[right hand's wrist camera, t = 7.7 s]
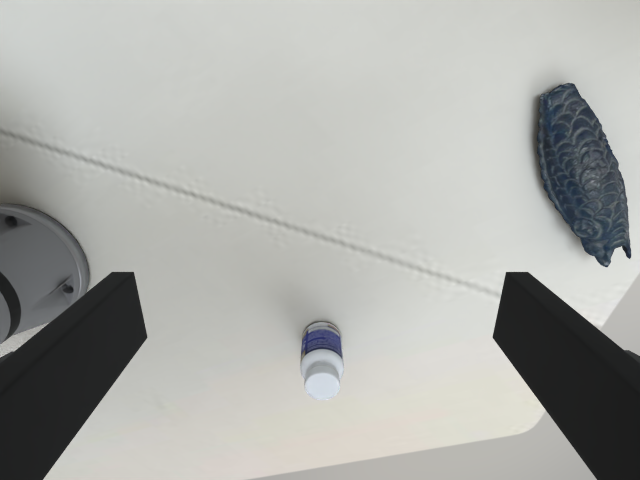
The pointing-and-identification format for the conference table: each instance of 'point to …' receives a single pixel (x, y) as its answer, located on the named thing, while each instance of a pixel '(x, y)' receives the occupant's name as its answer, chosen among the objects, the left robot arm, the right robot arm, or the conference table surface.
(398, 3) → the conference table surface
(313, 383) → the pill bottle
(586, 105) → the fish model
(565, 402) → the right robot arm
